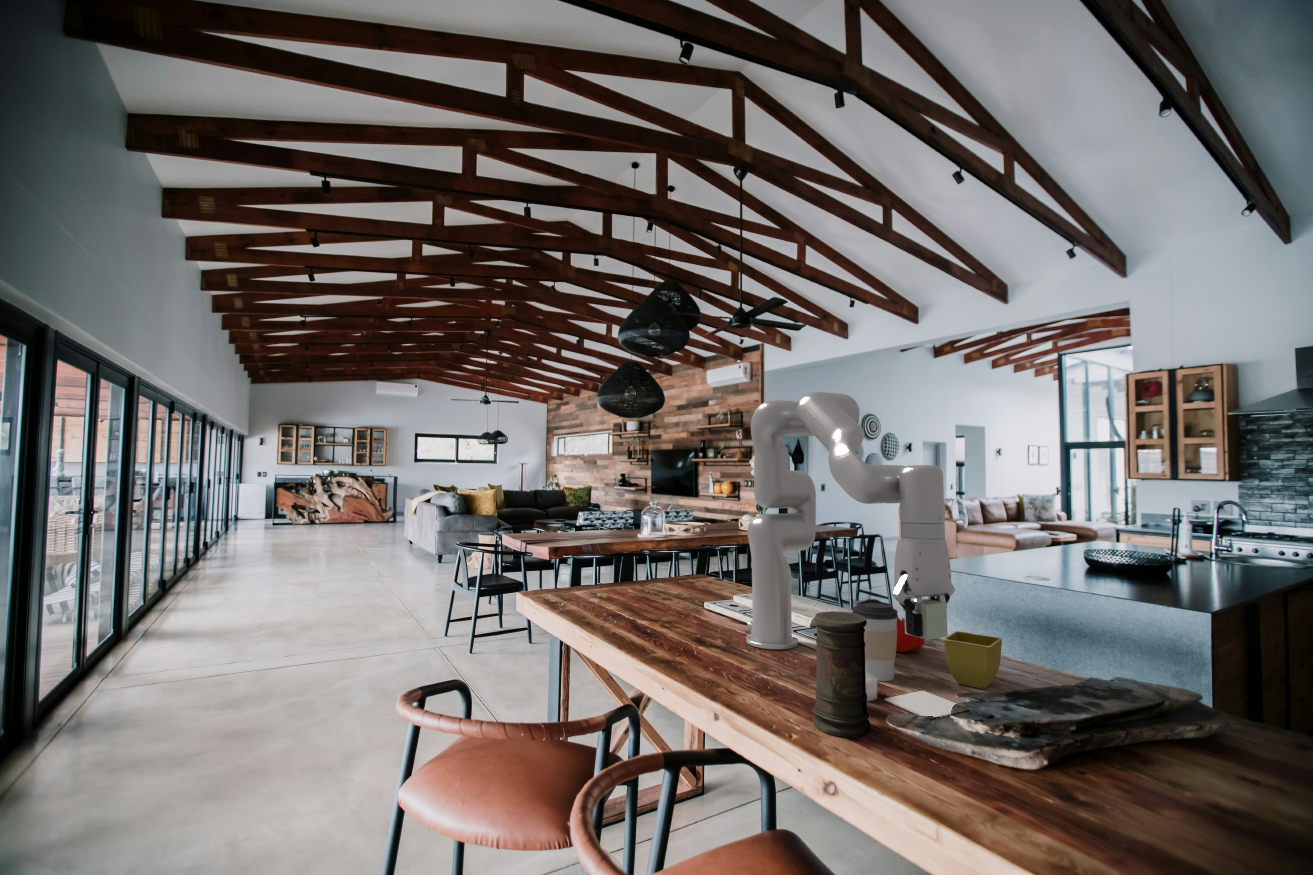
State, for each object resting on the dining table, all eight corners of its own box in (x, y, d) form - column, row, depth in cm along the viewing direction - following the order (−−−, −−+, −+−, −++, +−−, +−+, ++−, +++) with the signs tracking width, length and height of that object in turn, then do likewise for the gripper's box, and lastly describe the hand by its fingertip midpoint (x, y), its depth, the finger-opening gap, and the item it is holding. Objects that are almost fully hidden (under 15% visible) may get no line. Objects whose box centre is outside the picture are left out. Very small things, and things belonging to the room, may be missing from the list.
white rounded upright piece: (837, 692, 117) (836, 674, 117) (860, 687, 119) (860, 669, 120) (860, 703, 111) (859, 683, 112) (884, 698, 114) (883, 679, 114)
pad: (884, 700, 113) (884, 698, 113) (923, 691, 117) (923, 690, 117) (929, 719, 104) (929, 718, 104) (969, 710, 108) (969, 708, 108)
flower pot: (943, 684, 121) (942, 638, 122) (957, 673, 128) (956, 630, 128) (992, 695, 115) (990, 646, 116) (1004, 683, 122) (1002, 637, 122)
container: (802, 720, 103) (801, 612, 104) (844, 712, 107) (843, 608, 108) (837, 741, 95) (836, 624, 96) (882, 732, 99) (880, 619, 100)
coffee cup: (903, 684, 121) (901, 607, 122) (855, 681, 123) (854, 605, 124) (895, 670, 130) (893, 598, 131) (850, 667, 132) (849, 596, 133)
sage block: (905, 633, 112) (904, 600, 112) (924, 630, 114) (923, 597, 114) (927, 639, 107) (926, 605, 108) (947, 636, 110) (946, 602, 110)
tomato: (877, 650, 145) (876, 618, 145) (890, 642, 151) (890, 611, 152) (918, 658, 139) (917, 624, 139) (930, 649, 145) (929, 617, 146)
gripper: (937, 529, 119) (941, 623, 118) (872, 532, 112) (875, 633, 111) (972, 532, 112) (976, 632, 111) (905, 536, 105) (908, 643, 104)
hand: (925, 632), depth 111 cm, fingers closed on sage block, 5 cm apart
